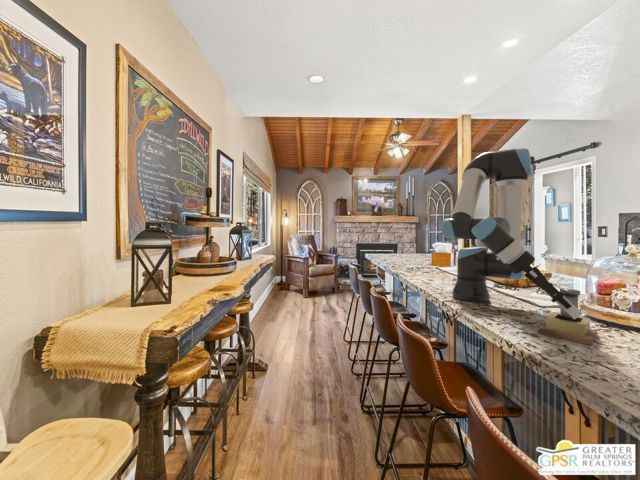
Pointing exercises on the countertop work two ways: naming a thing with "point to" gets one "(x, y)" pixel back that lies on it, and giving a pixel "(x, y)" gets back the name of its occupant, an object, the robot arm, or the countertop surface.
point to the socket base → (570, 335)
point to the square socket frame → (568, 325)
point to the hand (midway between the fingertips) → (571, 310)
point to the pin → (573, 298)
